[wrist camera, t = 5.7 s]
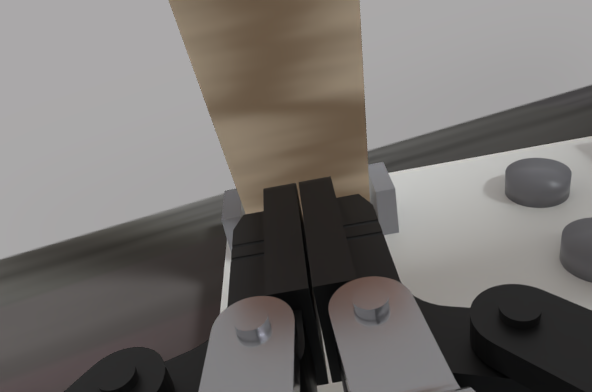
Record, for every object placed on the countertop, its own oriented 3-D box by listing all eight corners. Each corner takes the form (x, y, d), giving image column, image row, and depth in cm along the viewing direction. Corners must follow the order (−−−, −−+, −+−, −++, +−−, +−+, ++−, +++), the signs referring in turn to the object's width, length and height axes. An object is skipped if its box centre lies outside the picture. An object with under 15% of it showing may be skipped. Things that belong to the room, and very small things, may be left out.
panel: (691, 151, 27) (709, 74, 25) (1134, 420, 13) (1260, 298, 11) (239, 232, 28) (220, 164, 26) (219, 563, 14) (175, 474, 12)
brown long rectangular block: (367, 189, 24) (339, -297, 11) (380, 237, 23) (364, -274, 10) (249, 210, 25) (90, -244, 12) (253, 260, 23) (71, -211, 10)
